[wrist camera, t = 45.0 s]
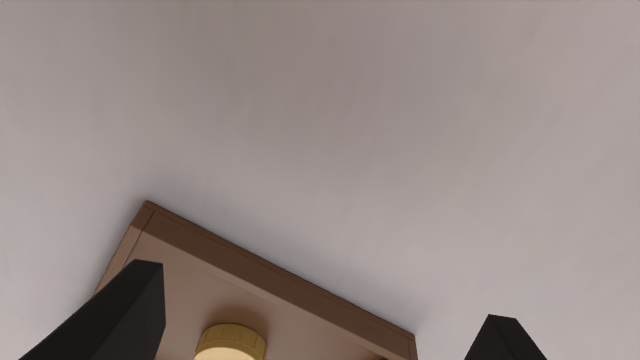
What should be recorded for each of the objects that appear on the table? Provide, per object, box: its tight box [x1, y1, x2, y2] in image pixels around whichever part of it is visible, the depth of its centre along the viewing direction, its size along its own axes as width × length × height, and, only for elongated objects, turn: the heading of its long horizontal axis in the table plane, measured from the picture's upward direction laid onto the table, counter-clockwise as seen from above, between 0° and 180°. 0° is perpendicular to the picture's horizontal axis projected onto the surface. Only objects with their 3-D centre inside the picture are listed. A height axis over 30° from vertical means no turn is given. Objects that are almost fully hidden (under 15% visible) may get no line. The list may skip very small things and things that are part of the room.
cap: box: [193, 324, 267, 360], centre depth 25 cm, size 4×4×2 cm
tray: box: [92, 201, 418, 360], centre depth 26 cm, size 16×13×2 cm
